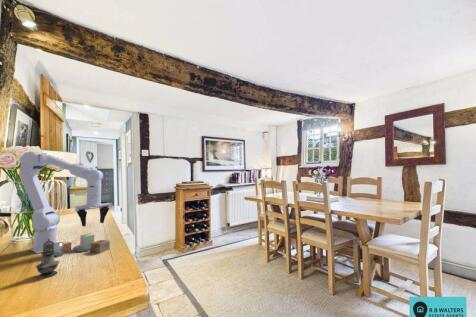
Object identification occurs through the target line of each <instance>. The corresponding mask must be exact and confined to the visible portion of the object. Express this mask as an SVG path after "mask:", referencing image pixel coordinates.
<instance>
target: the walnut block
mask: <svg viewBox="0 0 476 317" xmlns="http://www.w3.org/2000/svg"><path fill="white" fill-rule="evenodd" d="M110 242H111V241H110V240H109V239H108V240H107V239H99V240H97V241H94V242H93V243H91V250H90V251H89V252H90V253H92V254H102V253H104V252H106V251H110Z"/></svg>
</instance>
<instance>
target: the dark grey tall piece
mask: <svg viewBox="0 0 476 317" xmlns="http://www.w3.org/2000/svg"><path fill="white" fill-rule="evenodd" d="M54 252H55V251H54V242H53V241H50V239H48V241H47V242H45V243H44V244H43V252H41V253H40V254H41V255H42V258H41V262H40V263H39V264H37V265H36V266H35V268H36V269H37V272H38V273H39V274H38V275H37V276H36V279H38V280H40V279H41V280H43V279H44V280H45V279H48V278H52V277H54V276H55V275H57V274H58V271H56V269H57V267H58V266H59V265H58V264H59V263H60V261H59V260H55V258H54Z"/></svg>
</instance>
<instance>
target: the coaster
mask: <svg viewBox="0 0 476 317" xmlns="http://www.w3.org/2000/svg"><path fill="white" fill-rule="evenodd" d="M90 250H91V247H87V248H82V247H80V244H78V245H75V246H74V247H73V248H72V251H73V252H74V253H85V252H87V253H88V252H90Z"/></svg>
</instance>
